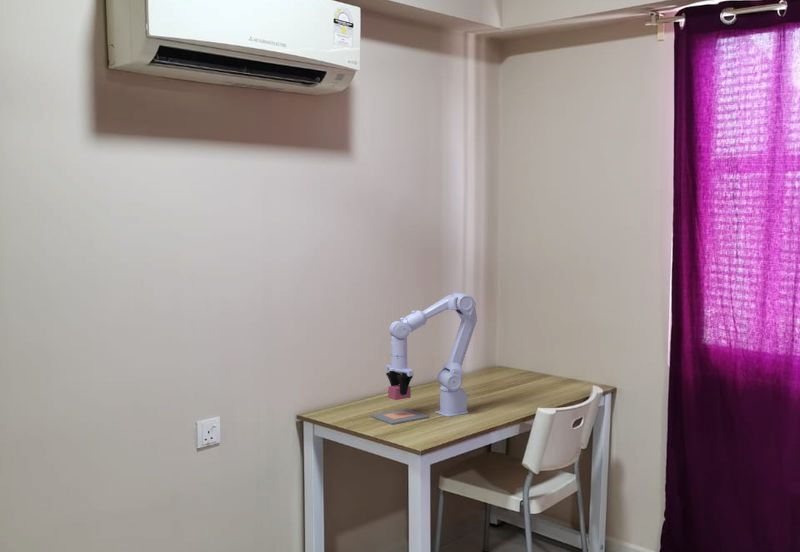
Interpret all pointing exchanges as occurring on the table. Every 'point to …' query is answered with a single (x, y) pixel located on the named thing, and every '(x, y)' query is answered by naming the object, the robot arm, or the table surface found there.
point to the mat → (399, 416)
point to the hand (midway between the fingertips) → (399, 393)
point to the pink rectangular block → (398, 393)
